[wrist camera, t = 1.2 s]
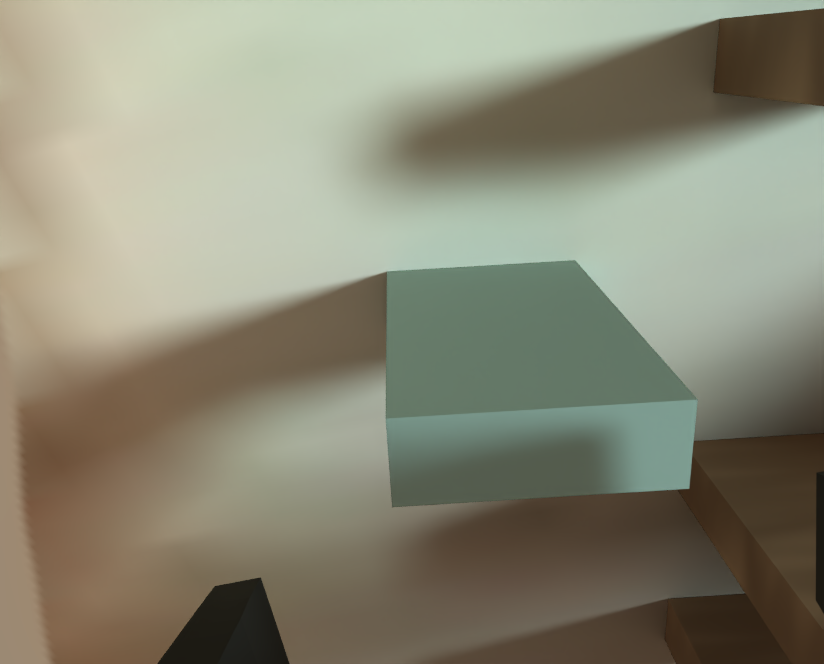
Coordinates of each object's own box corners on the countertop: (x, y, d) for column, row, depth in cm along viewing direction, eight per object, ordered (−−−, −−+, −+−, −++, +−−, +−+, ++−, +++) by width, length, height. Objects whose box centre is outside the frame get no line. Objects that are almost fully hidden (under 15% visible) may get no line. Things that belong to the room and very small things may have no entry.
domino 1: (386, 271, 19) (385, 418, 11) (575, 260, 19) (697, 399, 11) (390, 330, 19) (392, 507, 12) (573, 319, 19) (688, 488, 12)
